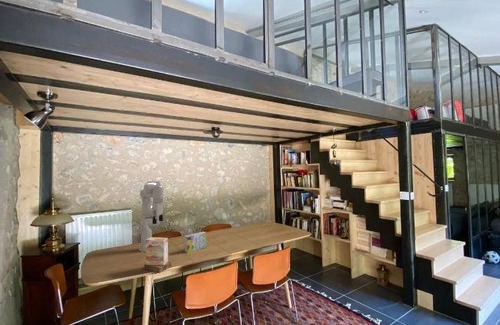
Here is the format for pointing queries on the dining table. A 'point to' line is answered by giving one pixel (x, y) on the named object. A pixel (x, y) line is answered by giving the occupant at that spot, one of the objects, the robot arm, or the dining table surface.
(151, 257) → the coffeecake box
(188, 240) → the snack box
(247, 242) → the dining table surface
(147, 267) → the block
